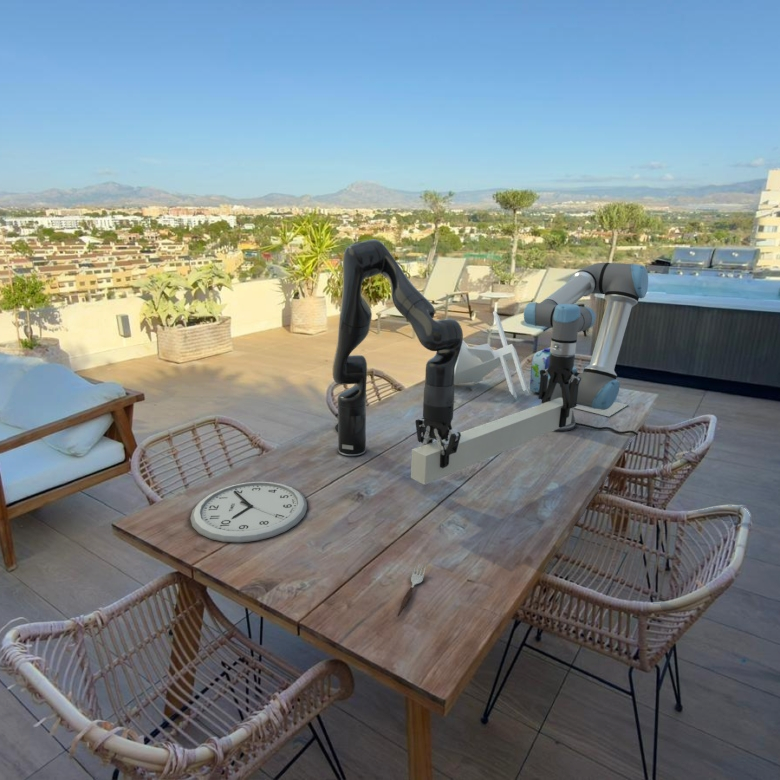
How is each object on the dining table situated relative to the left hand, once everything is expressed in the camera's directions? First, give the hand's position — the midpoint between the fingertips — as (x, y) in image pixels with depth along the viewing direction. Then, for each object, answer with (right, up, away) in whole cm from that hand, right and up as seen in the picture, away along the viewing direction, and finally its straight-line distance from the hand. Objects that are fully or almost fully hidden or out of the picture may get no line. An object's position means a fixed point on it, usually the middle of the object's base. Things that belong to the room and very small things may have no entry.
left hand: (435, 462), depth 134 cm
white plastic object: (+30, +17, +109) cm, 114 cm away
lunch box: (+64, +18, +113) cm, 131 cm away
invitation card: (+80, +11, +92) cm, 122 cm away
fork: (-8, -24, -25) cm, 35 cm away
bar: (+21, +2, +19) cm, 28 cm away
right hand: (+42, +8, +37) cm, 56 cm away
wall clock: (-49, -14, +5) cm, 51 cm away
